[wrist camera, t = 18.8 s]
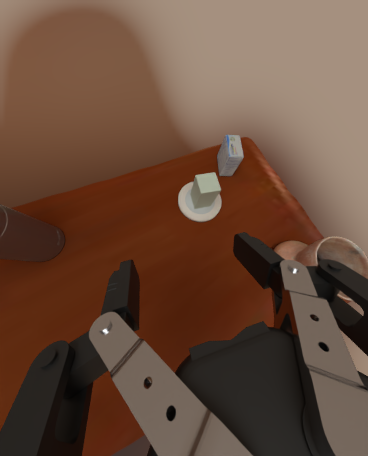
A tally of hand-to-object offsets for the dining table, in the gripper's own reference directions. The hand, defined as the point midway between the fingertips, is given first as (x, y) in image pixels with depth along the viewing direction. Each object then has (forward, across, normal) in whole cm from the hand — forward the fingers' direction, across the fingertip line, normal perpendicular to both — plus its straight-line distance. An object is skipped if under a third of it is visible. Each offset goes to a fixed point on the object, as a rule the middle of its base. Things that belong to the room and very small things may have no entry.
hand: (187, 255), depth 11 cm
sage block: (+31, -12, +8) cm, 34 cm away
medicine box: (+40, -24, +1) cm, 47 cm away
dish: (+32, -12, +8) cm, 35 cm away
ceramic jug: (+14, -32, +26) cm, 44 cm away
